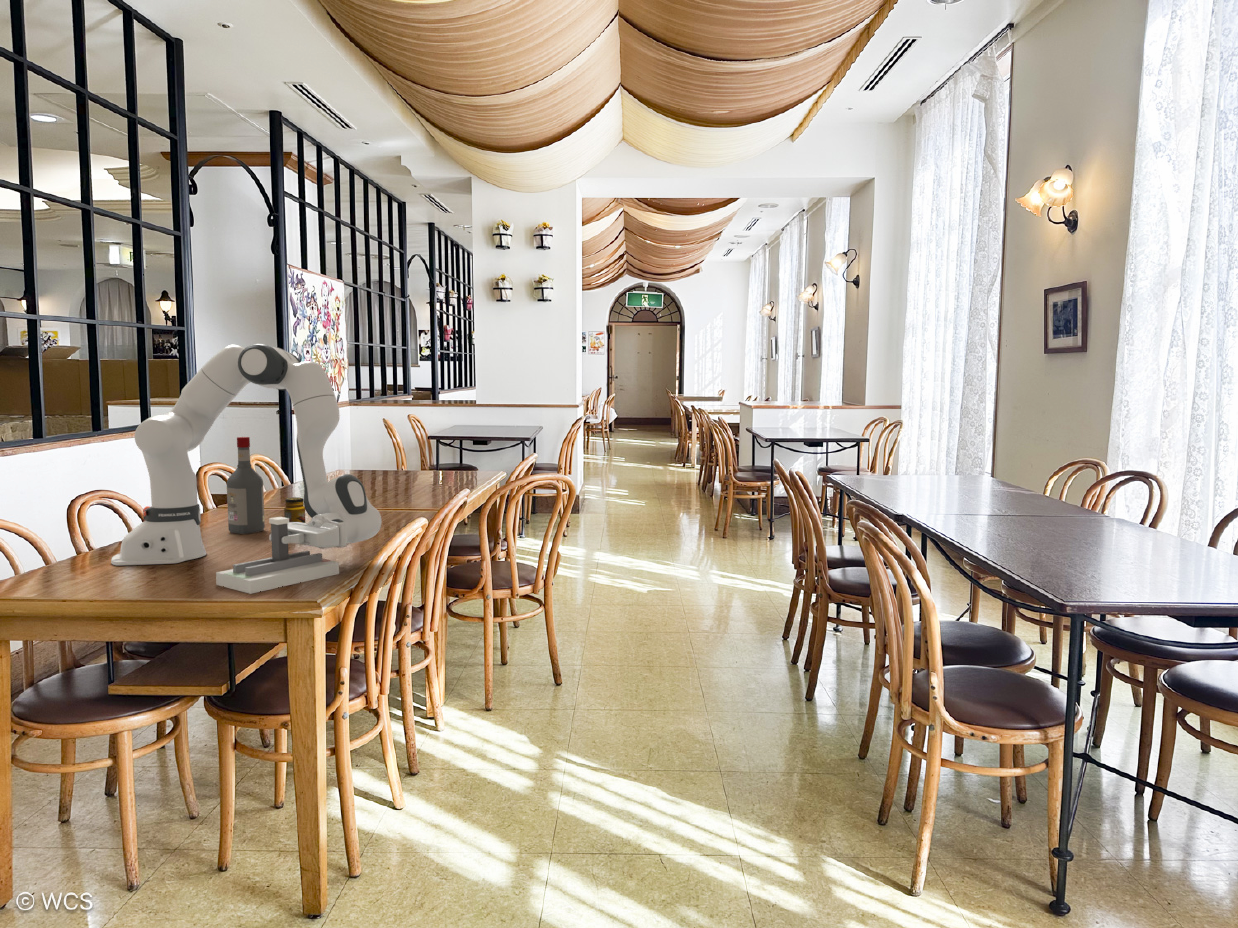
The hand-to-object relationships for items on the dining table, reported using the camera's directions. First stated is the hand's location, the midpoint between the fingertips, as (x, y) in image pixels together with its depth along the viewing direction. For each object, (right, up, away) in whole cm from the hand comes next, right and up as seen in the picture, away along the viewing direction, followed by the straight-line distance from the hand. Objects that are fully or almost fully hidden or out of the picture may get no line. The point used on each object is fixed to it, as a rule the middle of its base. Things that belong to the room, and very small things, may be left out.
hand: (276, 539), depth 201 cm
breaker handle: (0, -7, +1) cm, 7 cm away
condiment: (-18, -5, +55) cm, 57 cm away
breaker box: (0, -10, +1) cm, 10 cm away
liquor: (-35, -3, +63) cm, 72 cm away
